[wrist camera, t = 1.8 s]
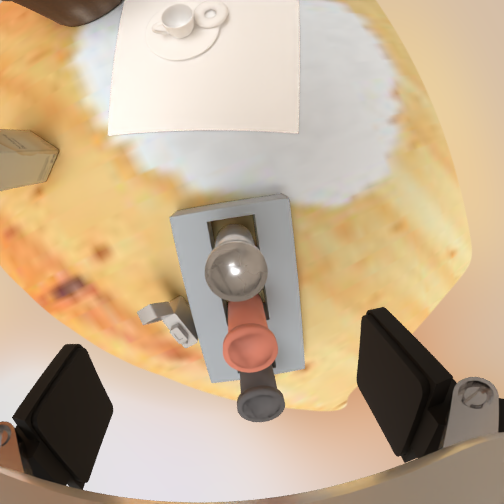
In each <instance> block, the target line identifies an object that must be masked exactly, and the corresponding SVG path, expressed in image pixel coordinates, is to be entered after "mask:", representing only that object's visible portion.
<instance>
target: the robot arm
mask: <svg viewBox="0 0 504 504" xmlns="http://www.w3.org/2000/svg"><path fill="white" fill-rule="evenodd" d="M357 384H358V387H359V389H360V391H361V393H362V394H363V396H364V398H365V400H366V402H367V403H368V405H369V407H370V409H371V411H372V413H373V415H374V416H375V418H376V420H377V422H378V424H379V426H380V427H381V429H382V431H383V433H384V435H385V437H386V438H387V440H388V442H389V444H390V445H391V448H392V450H393V452H394V453H395V455H396V456H401V457H402V459H403V461H404V462H405V464H403V465H400V466H397V467H395V468H392V469H389V470H386V471H383V472H380V473H377V474H374V475H371V476H368V477H365V478H361V479H358V480H354V481H351V482H347V483H343V484H340V485H336V486H332V487H328V488H323V489H319V490H314V491H310V492H304V493H299V494H293V495H287V496H281V497H274V498H266V499H257V500H247V501H234V502H211V503H210V502H209V503H188V502H165V501H151V500H141V499H133V498H125V497H118V496H112V495H106V494H100V493H95V492H90V491H85V490H83V487H84V484H85V483H87V482H88V480H89V478H90V475H91V472H92V469H93V466H94V463H95V461H96V457H97V455H98V452H99V449H100V446H101V444H102V441H103V438H104V435H105V433H106V430H107V427H108V424H109V422H110V419H111V416H112V414H113V405H112V403H111V401H110V399H109V397H108V395H107V393H106V391H105V389H104V387H103V385H102V383H101V381H100V379H99V377H98V374H97V372H96V370H95V368H94V366H93V363H92V361H91V359H90V357H89V354H88V352H87V350H86V349H85V348H83V347H82V346H81V345H80V344H66V345H64V346H63V348H62V349H61V350H60V351H59V353H58V354H57V355H56V357H55V358H54V359H53V361H52V362H51V363H50V365H49V366H48V367H47V369H46V370H45V371H44V373H43V374H42V375H41V377H40V378H39V379H38V381H37V382H36V383H35V385H34V386H33V388H32V389H31V390H30V392H29V393H28V395H27V396H26V398H25V399H24V401H23V402H22V403H21V405H20V406H19V408H18V409H17V411H16V412H15V414H14V415H13V417H12V418H13V420H14V421H15V423H16V424H17V426H16V428H14V427H13V425H12V424H11V423H9V422H3V421H2V422H0V504H504V399H501V398H499V396H498V392H497V389H496V388H495V386H494V385H493V384H492V383H491V382H490V381H488V380H486V379H483V378H479V377H469V378H465V379H463V380H461V381H459V382H458V383H456V382H455V380H453V376H452V375H451V374H450V373H449V372H448V371H447V370H446V369H445V368H444V367H443V366H442V365H441V364H440V363H439V362H438V360H436V358H435V357H434V356H433V355H432V354H431V353H430V352H429V351H428V350H427V349H426V348H425V347H424V346H423V345H422V344H421V343H420V342H419V341H418V340H417V339H416V338H415V337H414V336H413V335H412V334H411V333H410V332H409V331H408V330H407V329H406V328H405V327H404V326H403V325H402V324H401V323H400V322H399V321H398V320H397V319H396V318H395V317H394V316H393V315H392V314H391V313H390V312H389V311H388V310H387V309H386V308H384V307H381V308H376V309H372V310H368V311H367V313H366V315H365V316H363V317H362V320H361V335H360V348H359V360H358V370H357ZM415 458H418V459H415ZM413 459H415V460H413ZM411 460H413V461H411ZM408 461H410V462H408ZM406 462H408V463H406ZM67 484H68V485H69V486H70V487H68V486H66V485H67Z"/></svg>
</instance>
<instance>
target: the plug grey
mask: <svg viewBox="0 0 504 504" xmlns="http://www.w3.org/2000/svg"><path fill="white" fill-rule="evenodd" d="M267 276H268V268H267V264H266V261H265V258H264V256H263V254H262V252H261V251H260V250H259V249H258V248H257V247H256V246H255V244H254V241H253V237H252V235H251V233H250V231H249V230H248V229H247V228H246V227H244V226H242V225H239V224H230V225H227V226H225V227H223V228H222V229H221V230H220V231H219V233H218V235H217V238H216V243H215V248H214V249H213V250H212V251H211V253H210V254H209V256H208V258H207V261H206V265H205V279H206V282H207V285H208V286H209V288H210V289H211V291H212V292H213V293H214V294H215V295H217V296H218V297H220V298H222V299H224V300H227V301H233V302H239V301H245V300H248V299H250V298H252V297H254V296H255V295H257V294H258V293H259V292H260V291H261V290H262V288H263V287H264V285H265V283H266V280H267Z"/></svg>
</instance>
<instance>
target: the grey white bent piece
mask: <svg viewBox="0 0 504 504" xmlns="http://www.w3.org/2000/svg"><path fill="white" fill-rule="evenodd" d="M137 314H138V316H139V318H140V320H141V322H142V324H143V325H146V324H150V323H154V322H158V321H161V320H163V322H164V324H165V325H166V326H167V327H168V329H169V330H170V333H171V335H172V336H173V337H174V338H175V339H176V341H177V342H178V343H179V344H182V345H183V347H184V348H188V347H190V346H192V345H194V344H196V343H197V340H198V335H197V331H196V328H195V324H194V320H193V317H192V313H191V309H190V307H189V305H188V304H187V303H186V301H185V300H184V299H183V297H182V296H178V297H177V298H175V299H173V300H172V301H170V303H169V302H162V303H154V304H150V305H148V306H146V307H144V308H143V309H141V310H139V311H138V312H137Z"/></svg>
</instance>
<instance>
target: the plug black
mask: <svg viewBox="0 0 504 504" xmlns="http://www.w3.org/2000/svg"><path fill="white" fill-rule="evenodd" d="M240 385H241V394H240V395H239V397H238V400H237V409H238V413H239V414H240V416H241V417H243V418H244V419H246V420H249V421H252V422H265V421H269V420H272V419H274V418H276V417H278V416H279V415H280V414H281V413H282V412H283V410H284V408H285V402H284V398H283V394H282V393H281V392H280V391H279V390H278V389H277V386H276V381H275V376H274V371H273V367H272V364H271V365H270V366H268V367H267V368H265V369H263V370H261V371H258V372H251V373H247V372H241V371H240Z"/></svg>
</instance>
